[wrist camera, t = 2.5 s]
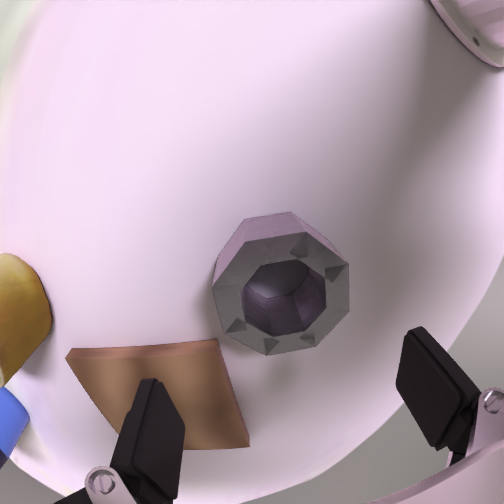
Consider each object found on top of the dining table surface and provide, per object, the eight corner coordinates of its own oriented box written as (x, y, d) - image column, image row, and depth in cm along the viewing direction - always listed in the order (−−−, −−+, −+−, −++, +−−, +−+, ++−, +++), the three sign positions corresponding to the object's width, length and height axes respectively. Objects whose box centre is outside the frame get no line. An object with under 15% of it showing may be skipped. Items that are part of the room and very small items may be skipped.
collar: (322, 207, 17) (346, 225, 13) (329, 302, 20) (348, 339, 16) (211, 225, 17) (202, 248, 13) (233, 319, 20) (231, 360, 16)
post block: (217, 338, 20) (209, 417, 13) (249, 436, 25) (251, 495, 18) (71, 348, 21) (35, 404, 14) (131, 436, 26) (118, 487, 19)
